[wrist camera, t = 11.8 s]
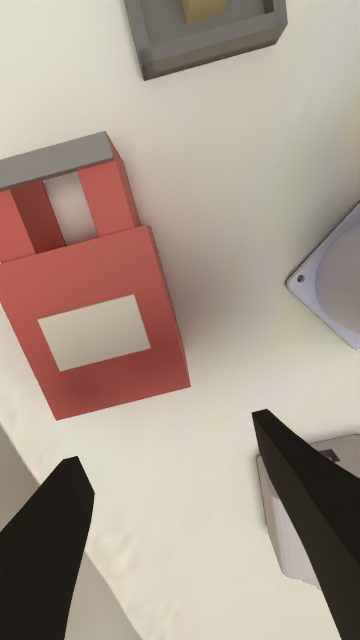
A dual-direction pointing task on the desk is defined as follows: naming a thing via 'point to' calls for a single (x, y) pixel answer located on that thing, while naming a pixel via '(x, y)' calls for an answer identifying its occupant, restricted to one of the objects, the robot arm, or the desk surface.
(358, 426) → the desk surface
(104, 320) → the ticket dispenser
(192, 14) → the wooden blocks
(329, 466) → the robot arm
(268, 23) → the ticket tray
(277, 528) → the charger
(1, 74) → the desk surface
